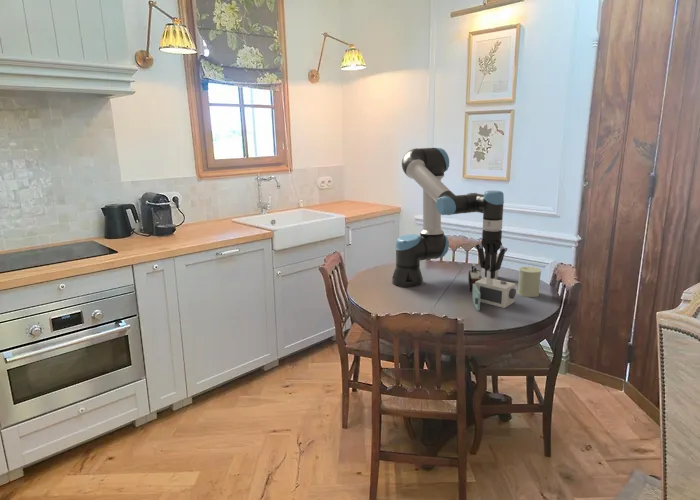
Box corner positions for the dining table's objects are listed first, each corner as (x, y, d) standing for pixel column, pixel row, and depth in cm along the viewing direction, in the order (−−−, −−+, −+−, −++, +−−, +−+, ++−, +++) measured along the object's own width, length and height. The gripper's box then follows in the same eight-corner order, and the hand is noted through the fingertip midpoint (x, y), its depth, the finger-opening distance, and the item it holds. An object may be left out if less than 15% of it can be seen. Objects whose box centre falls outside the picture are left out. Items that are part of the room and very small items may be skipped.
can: (523, 288, 214) (525, 264, 211) (542, 293, 208) (544, 268, 205) (513, 293, 208) (515, 268, 205) (533, 298, 202) (535, 272, 199)
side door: (469, 299, 201) (470, 283, 199) (474, 299, 201) (474, 283, 199) (475, 310, 189) (476, 293, 187) (479, 310, 189) (480, 293, 187)
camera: (485, 293, 210) (486, 272, 207) (468, 292, 211) (469, 271, 209) (483, 283, 224) (484, 263, 221) (467, 282, 226) (468, 262, 223)
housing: (474, 300, 201) (475, 280, 199) (484, 294, 207) (485, 275, 205) (506, 308, 191) (508, 287, 189) (516, 302, 197) (517, 282, 195)
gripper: (472, 229, 186) (470, 284, 191) (503, 233, 177) (499, 290, 183) (482, 226, 191) (479, 280, 197) (511, 230, 182) (508, 286, 188)
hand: (489, 285), depth 190 cm, fingers closed
